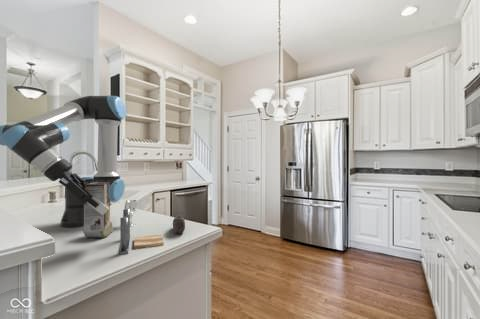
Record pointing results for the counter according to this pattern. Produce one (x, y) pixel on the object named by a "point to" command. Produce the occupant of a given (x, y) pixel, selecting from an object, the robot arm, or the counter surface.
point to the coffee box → (91, 216)
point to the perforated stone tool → (178, 224)
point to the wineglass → (131, 209)
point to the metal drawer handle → (125, 232)
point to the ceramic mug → (100, 232)
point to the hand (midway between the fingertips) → (107, 209)
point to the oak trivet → (148, 241)
